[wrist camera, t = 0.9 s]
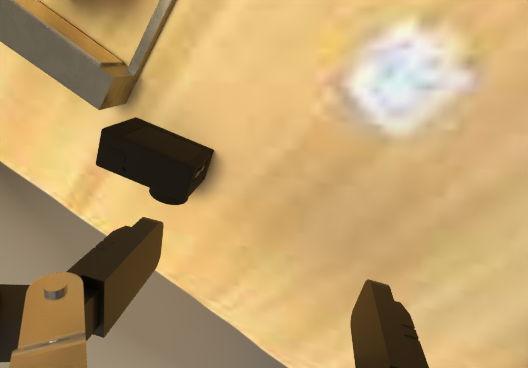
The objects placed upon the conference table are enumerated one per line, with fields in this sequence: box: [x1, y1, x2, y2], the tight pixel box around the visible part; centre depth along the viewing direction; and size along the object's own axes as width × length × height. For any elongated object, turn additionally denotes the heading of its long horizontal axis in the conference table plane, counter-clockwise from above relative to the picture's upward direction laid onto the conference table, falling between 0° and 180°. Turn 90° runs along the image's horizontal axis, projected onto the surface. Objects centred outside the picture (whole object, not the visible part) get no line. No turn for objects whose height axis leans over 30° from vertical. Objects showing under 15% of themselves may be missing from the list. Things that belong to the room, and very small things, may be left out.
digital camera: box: [96, 118, 214, 205], centre depth 37 cm, size 10×5×7 cm, turn 69°
